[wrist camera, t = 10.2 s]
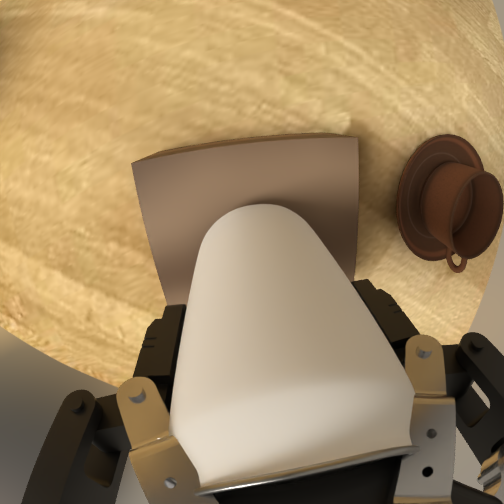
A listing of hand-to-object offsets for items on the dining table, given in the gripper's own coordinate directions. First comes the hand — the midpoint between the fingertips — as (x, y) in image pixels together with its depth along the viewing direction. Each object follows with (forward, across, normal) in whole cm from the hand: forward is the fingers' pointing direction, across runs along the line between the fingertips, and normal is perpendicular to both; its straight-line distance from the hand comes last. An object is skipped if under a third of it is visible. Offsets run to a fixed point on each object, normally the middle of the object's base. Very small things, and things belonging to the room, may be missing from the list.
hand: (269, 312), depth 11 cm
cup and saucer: (+12, -18, 0) cm, 21 cm away
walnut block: (+12, 0, 0) cm, 12 cm away
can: (+5, 0, 0) cm, 5 cm away
